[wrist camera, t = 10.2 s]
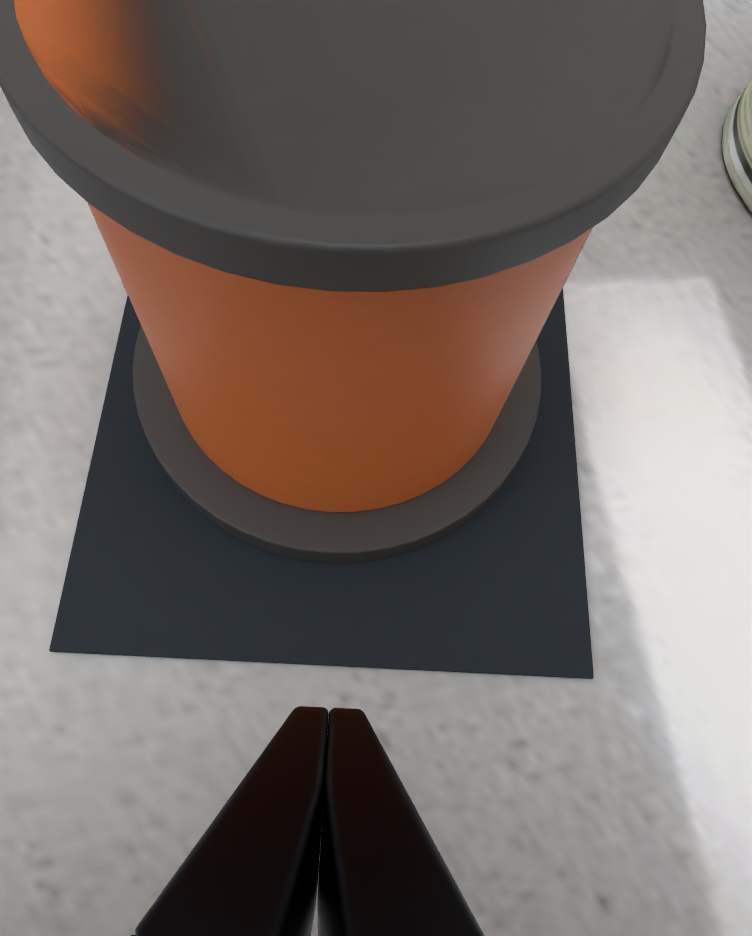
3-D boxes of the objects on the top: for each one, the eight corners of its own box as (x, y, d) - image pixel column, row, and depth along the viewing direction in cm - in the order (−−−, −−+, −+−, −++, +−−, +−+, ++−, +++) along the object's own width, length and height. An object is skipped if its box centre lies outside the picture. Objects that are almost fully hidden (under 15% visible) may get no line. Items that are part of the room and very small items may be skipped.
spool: (444, 636, 17) (621, 458, 7) (60, 455, 18) (-289, 68, 8) (581, 305, 21) (818, -117, 11) (261, 175, 22) (203, -315, 12)
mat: (592, 678, 17) (593, 678, 17) (50, 651, 16) (48, 651, 16) (559, 253, 22) (559, 250, 22) (145, 221, 21) (144, 219, 21)
